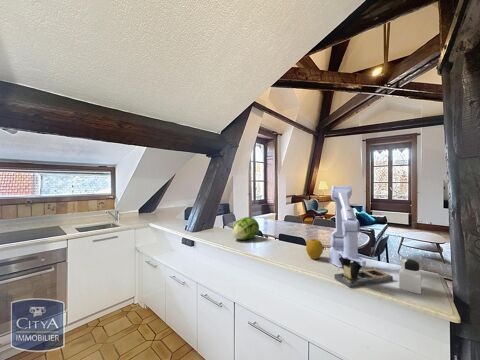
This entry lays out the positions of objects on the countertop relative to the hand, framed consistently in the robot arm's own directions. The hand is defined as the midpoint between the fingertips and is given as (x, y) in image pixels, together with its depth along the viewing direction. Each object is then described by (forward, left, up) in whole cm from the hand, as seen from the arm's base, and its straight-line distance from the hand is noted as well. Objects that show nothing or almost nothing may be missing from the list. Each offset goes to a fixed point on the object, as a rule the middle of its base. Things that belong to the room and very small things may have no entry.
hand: (350, 275), depth 95 cm
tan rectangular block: (0, 0, -3) cm, 3 cm away
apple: (-30, +3, -3) cm, 30 cm away
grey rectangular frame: (0, +7, -3) cm, 8 cm away
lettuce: (-82, -24, -3) cm, 86 cm away
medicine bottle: (+12, +20, -3) cm, 23 cm away
